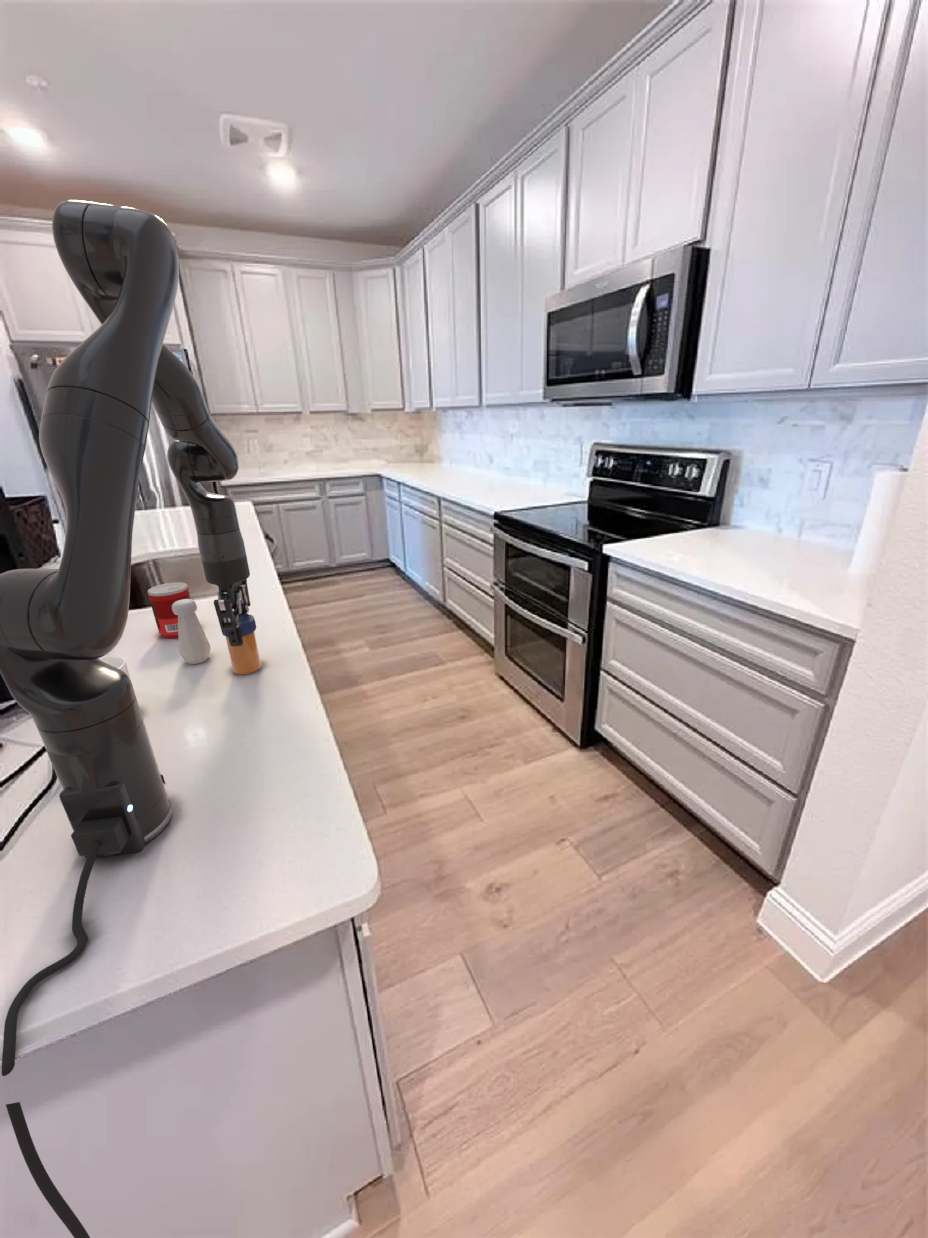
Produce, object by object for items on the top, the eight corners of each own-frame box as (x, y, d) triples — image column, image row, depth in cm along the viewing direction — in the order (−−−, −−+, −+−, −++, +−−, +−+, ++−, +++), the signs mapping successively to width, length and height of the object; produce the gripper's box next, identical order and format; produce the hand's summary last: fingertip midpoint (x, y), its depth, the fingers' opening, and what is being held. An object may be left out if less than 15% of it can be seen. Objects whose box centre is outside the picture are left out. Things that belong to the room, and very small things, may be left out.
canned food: (204, 629, 120) (194, 585, 115) (171, 641, 113) (159, 595, 109) (186, 622, 123) (175, 579, 119) (153, 634, 117) (140, 589, 113)
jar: (258, 673, 99) (248, 626, 95) (230, 675, 98) (219, 628, 95) (263, 661, 104) (254, 616, 100) (236, 663, 103) (227, 618, 99)
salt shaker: (200, 667, 102) (185, 607, 97) (175, 665, 103) (159, 605, 98) (218, 654, 107) (205, 596, 102) (194, 652, 108) (180, 595, 103)
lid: (252, 636, 96) (250, 624, 95) (218, 638, 95) (215, 627, 94) (259, 623, 101) (257, 612, 100) (227, 626, 100) (224, 615, 99)
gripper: (235, 564, 86) (253, 652, 93) (253, 543, 99) (268, 622, 106) (188, 567, 85) (210, 656, 92) (213, 545, 98) (230, 625, 105)
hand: (241, 637), depth 99 cm, fingers closed on lid, 6 cm apart
